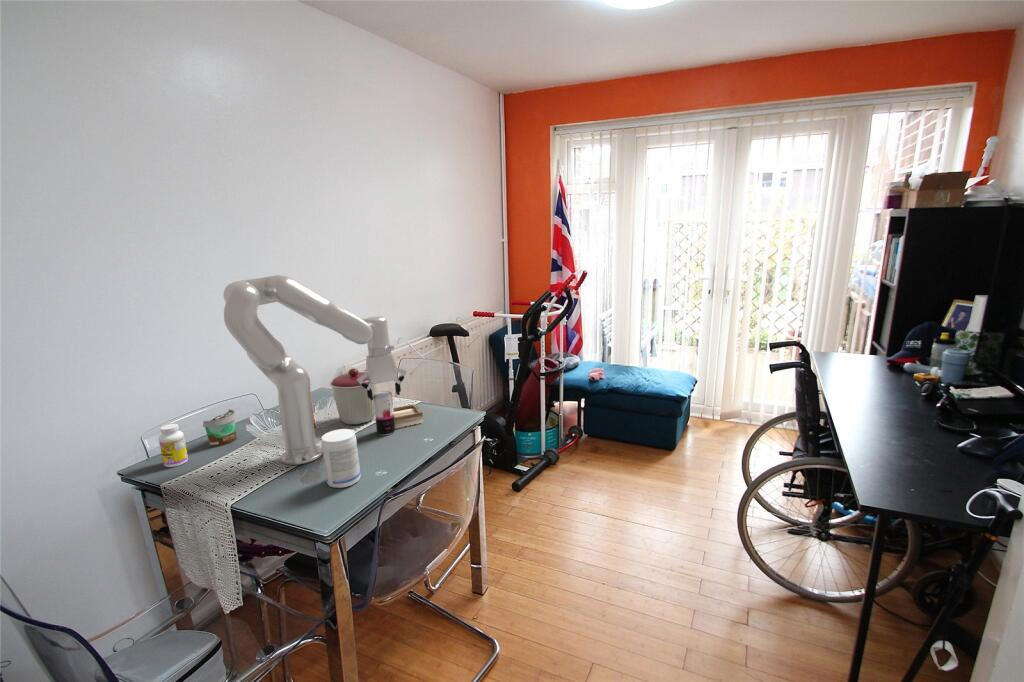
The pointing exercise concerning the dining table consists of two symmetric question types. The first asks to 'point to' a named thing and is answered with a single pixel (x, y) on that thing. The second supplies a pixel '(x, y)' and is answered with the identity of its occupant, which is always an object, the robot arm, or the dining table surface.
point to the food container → (221, 429)
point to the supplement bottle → (173, 446)
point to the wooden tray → (407, 416)
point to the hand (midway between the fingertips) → (384, 396)
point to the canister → (353, 398)
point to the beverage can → (384, 412)
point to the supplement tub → (341, 458)
